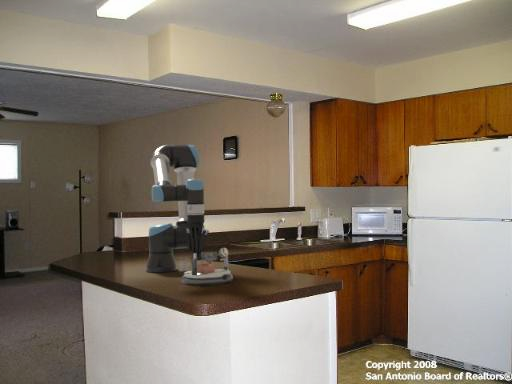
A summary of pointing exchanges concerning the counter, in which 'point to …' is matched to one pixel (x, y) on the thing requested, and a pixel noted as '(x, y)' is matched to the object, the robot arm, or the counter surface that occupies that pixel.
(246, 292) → the counter surface
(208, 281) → the turntable base
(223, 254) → the indicator stand
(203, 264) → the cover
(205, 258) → the mechanical component
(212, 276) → the platter
